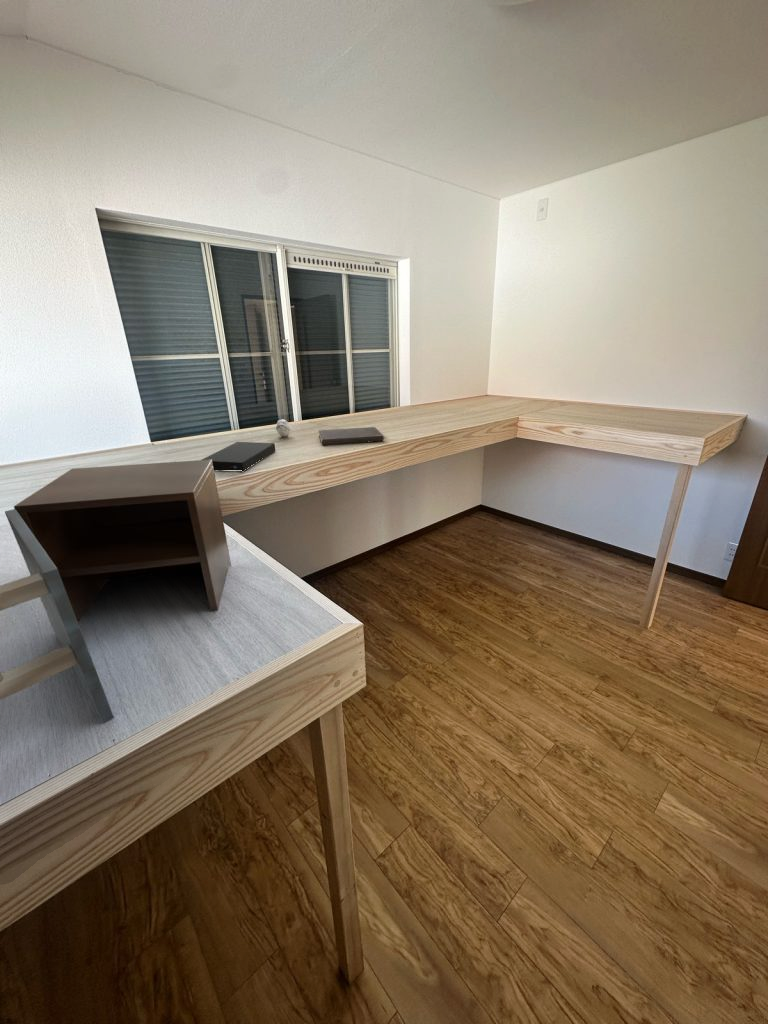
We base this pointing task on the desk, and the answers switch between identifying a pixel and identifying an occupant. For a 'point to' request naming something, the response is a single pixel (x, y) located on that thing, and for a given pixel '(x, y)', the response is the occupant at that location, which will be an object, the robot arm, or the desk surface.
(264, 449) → the external hard drive
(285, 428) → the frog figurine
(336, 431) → the hardcover book
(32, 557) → the door
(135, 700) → the desk surface
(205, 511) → the cupboard
